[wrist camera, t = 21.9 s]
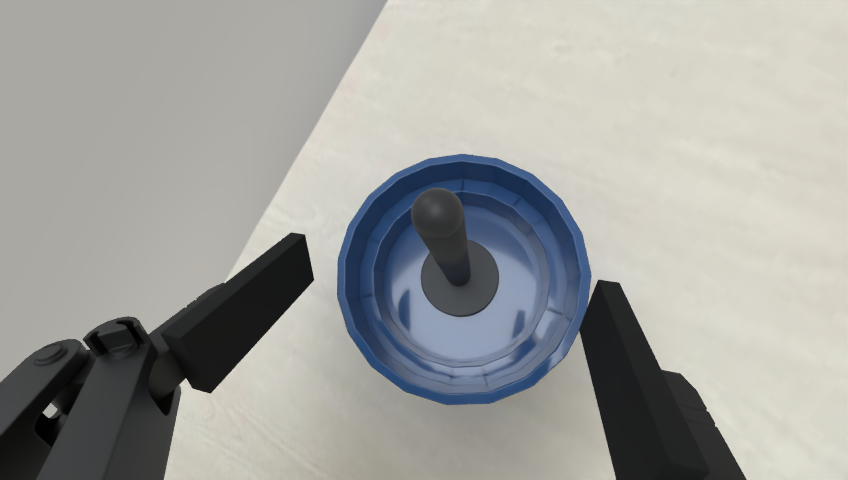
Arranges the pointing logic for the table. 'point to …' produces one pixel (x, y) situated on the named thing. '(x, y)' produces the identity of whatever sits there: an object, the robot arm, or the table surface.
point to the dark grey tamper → (452, 256)
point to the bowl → (507, 312)
